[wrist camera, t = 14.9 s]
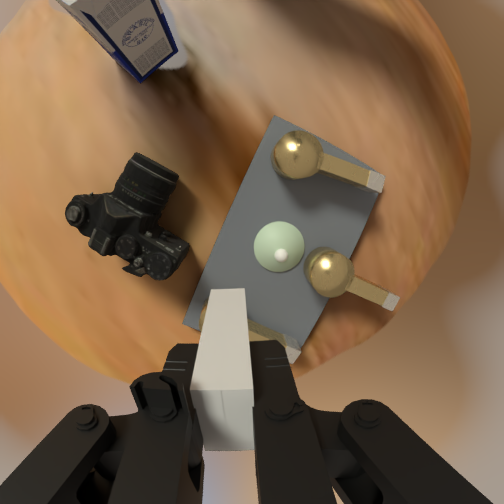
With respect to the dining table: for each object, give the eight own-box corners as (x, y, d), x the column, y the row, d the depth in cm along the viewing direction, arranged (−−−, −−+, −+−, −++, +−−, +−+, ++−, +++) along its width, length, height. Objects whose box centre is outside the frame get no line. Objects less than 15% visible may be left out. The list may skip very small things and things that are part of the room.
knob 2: (265, 172, 30) (270, 169, 26) (276, 132, 29) (282, 123, 25) (362, 203, 31) (378, 205, 28) (371, 166, 31) (388, 163, 27)
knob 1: (195, 318, 33) (191, 333, 29) (213, 285, 32) (210, 297, 28) (281, 355, 35) (286, 372, 31) (300, 326, 34) (308, 342, 30)
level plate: (271, 119, 31) (275, 112, 28) (377, 177, 33) (389, 176, 30) (184, 317, 36) (180, 327, 32) (289, 354, 38) (293, 366, 35)
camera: (221, 200, 33) (215, 202, 23) (177, 271, 34) (157, 300, 25) (131, 145, 30) (95, 130, 21) (93, 216, 32) (51, 225, 22)
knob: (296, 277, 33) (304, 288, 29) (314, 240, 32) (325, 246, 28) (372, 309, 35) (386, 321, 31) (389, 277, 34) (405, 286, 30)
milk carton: (114, 59, 27) (42, -13, 8) (150, 29, 26) (103, -58, 7) (141, 84, 29) (68, 4, 9) (179, 51, 28) (140, -48, 8)
